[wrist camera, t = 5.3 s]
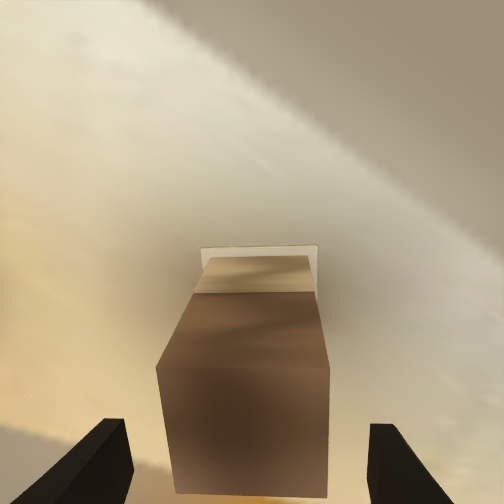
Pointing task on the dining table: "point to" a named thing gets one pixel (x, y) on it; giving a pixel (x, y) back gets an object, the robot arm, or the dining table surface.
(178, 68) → the dining table surface
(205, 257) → the cream tile
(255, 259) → the maple base
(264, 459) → the walnut block
